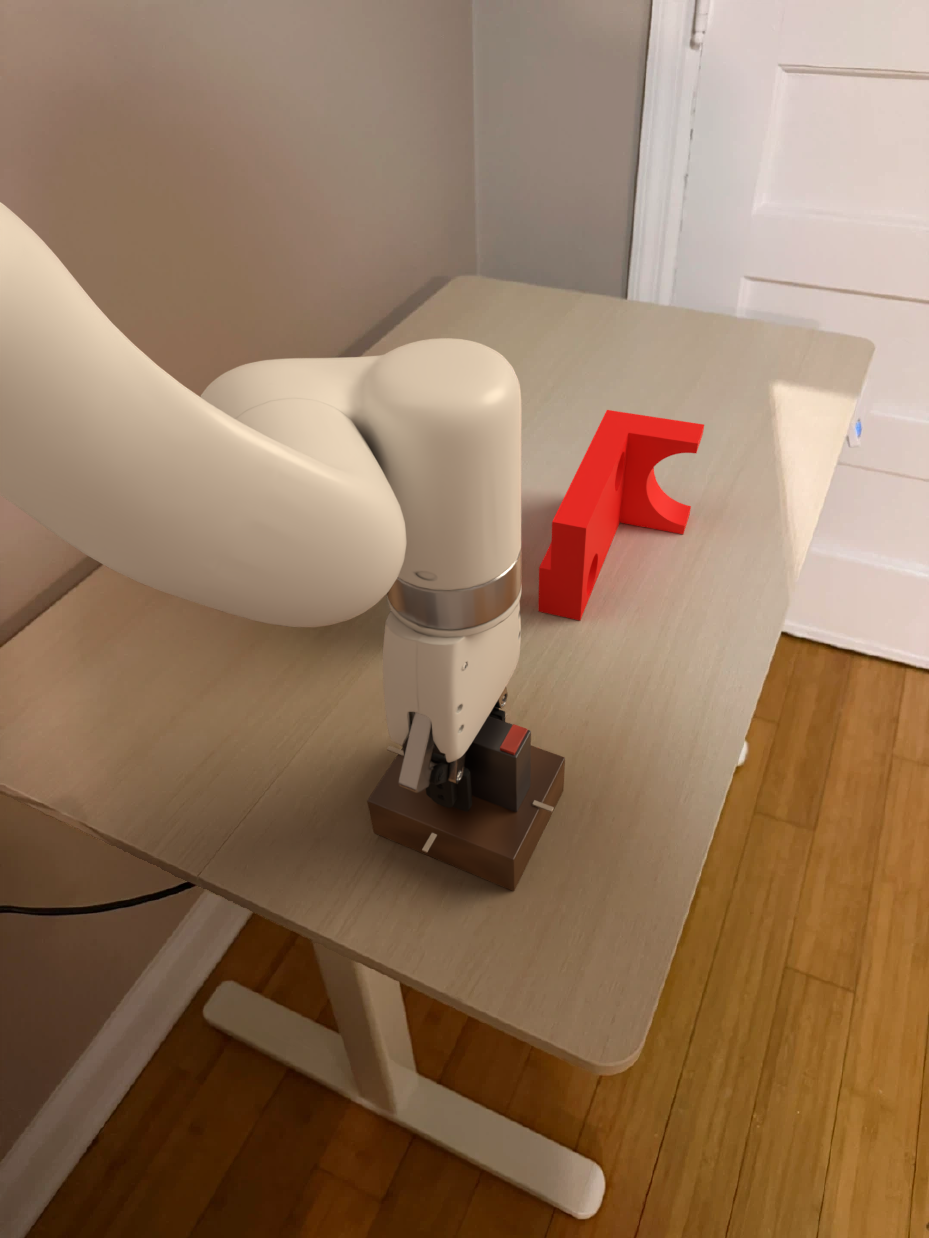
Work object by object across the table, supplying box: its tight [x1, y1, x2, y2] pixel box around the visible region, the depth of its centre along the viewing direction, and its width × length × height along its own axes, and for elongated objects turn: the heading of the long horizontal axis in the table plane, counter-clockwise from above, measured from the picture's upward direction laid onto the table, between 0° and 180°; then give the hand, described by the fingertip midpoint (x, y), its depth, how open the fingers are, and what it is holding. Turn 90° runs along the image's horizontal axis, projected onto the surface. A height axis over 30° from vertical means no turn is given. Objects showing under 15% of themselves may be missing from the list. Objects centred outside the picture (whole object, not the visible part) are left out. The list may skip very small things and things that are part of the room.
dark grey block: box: [402, 716, 532, 812], centre depth 59 cm, size 8×2×6 cm, turn 64°
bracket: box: [537, 409, 705, 621], centre depth 80 cm, size 18×10×10 cm
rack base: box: [366, 712, 566, 892], centre depth 63 cm, size 13×13×4 cm
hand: (466, 770), depth 61 cm, fingers open, 4 cm apart
